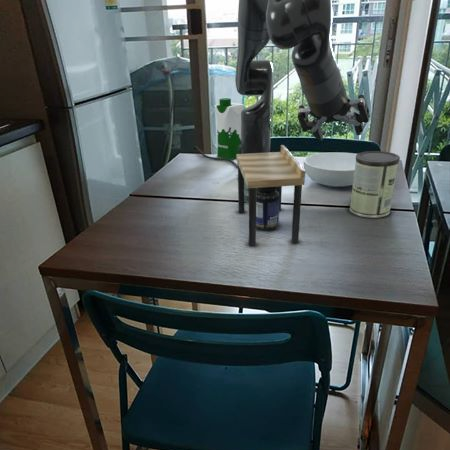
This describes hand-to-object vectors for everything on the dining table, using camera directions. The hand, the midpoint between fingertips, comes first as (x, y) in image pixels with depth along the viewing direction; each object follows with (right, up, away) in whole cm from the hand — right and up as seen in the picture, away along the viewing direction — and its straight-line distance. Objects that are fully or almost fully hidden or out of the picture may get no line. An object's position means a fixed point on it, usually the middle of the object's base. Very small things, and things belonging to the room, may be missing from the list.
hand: (339, 134), depth 100 cm
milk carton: (-24, +16, +65) cm, 72 cm away
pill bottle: (-16, -20, +9) cm, 27 cm away
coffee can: (+12, -14, +15) cm, 24 cm away
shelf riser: (-16, -19, +9) cm, 26 cm away
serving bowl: (+8, -2, +36) cm, 37 cm away
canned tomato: (-17, -9, +25) cm, 32 cm away
